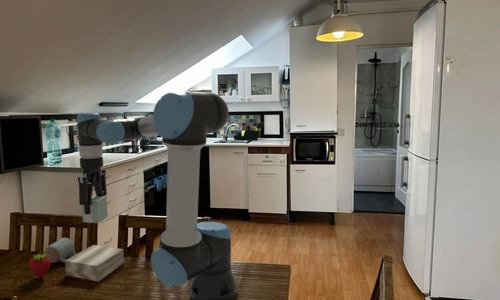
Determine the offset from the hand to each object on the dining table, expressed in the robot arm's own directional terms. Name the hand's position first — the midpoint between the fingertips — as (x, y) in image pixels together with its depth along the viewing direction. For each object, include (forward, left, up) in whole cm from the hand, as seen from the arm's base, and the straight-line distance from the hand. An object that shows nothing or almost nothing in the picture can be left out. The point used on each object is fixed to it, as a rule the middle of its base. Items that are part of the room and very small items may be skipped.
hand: (95, 218), depth 124 cm
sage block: (0, 0, 0) cm, 0 cm away
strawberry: (+17, +8, -20) cm, 27 cm away
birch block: (+1, 0, -20) cm, 20 cm away
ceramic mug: (+18, -5, -20) cm, 27 cm away
